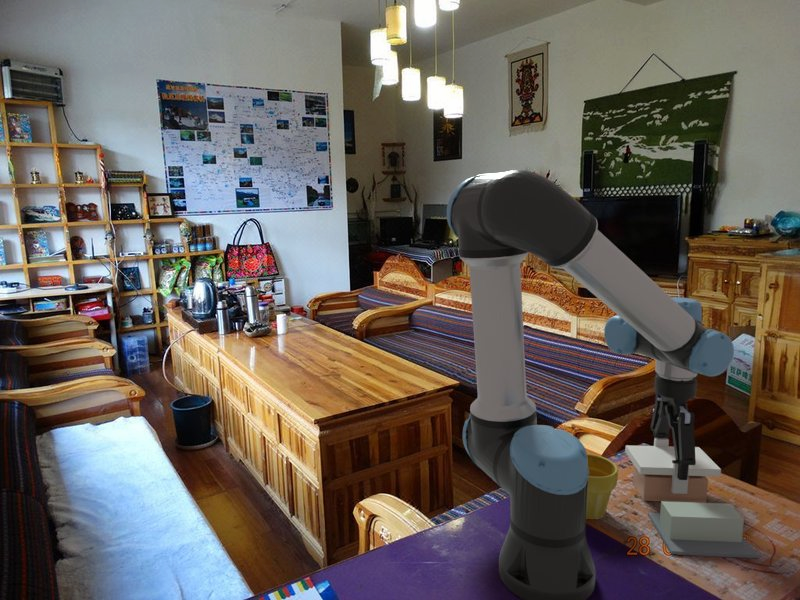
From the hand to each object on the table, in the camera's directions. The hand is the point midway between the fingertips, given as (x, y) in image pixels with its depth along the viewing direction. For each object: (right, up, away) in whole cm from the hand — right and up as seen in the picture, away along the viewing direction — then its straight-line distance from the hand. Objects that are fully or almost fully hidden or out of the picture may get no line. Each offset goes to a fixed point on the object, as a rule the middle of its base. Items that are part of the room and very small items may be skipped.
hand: (669, 479), depth 114 cm
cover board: (0, +3, -1) cm, 3 cm away
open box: (0, -3, 0) cm, 3 cm away
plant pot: (-19, -5, -5) cm, 20 cm away
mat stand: (-1, -5, -14) cm, 15 cm away
